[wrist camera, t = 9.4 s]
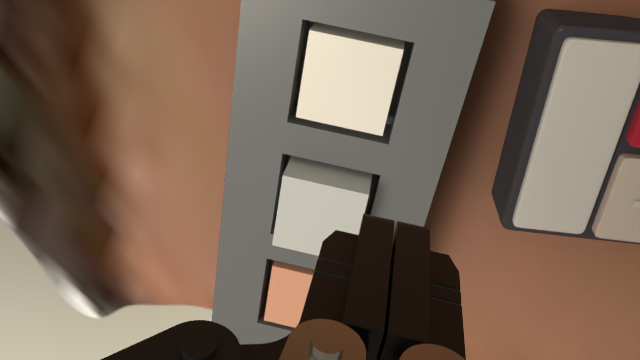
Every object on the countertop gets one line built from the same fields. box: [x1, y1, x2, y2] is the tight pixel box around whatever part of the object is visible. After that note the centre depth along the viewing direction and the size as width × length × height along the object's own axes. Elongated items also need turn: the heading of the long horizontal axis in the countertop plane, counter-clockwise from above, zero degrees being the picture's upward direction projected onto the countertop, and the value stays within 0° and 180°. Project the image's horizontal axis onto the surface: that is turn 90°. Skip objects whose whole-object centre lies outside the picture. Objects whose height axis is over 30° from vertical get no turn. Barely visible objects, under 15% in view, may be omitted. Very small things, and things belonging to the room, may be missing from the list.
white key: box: [296, 22, 405, 136], centre depth 27 cm, size 4×4×2 cm
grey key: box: [272, 156, 372, 256], centre depth 30 cm, size 4×4×2 cm
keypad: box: [212, 0, 496, 344], centre depth 32 cm, size 11×24×4 cm, turn 170°
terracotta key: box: [264, 260, 314, 328], centre depth 35 cm, size 4×4×2 cm
